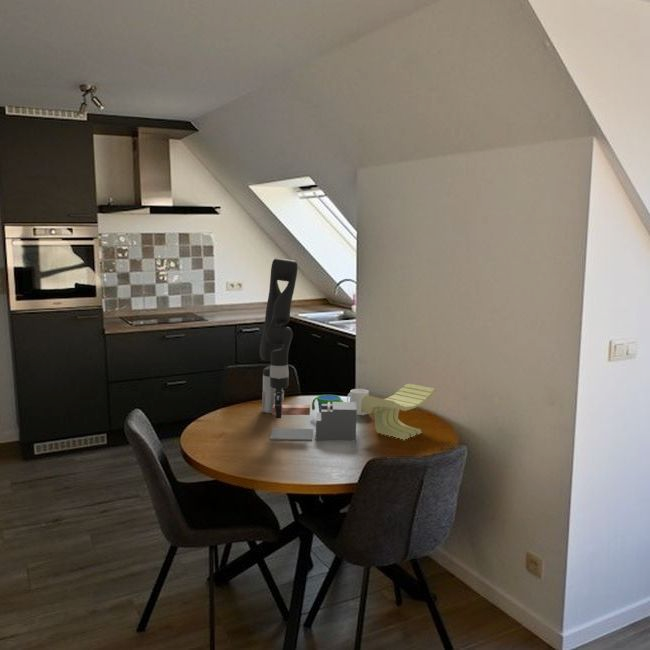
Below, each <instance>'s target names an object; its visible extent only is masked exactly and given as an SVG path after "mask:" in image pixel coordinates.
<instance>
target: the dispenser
mask: <svg viewBox="0 0 650 650" xmlns="http://www.w3.org/2000/svg"><path fill="white" fill-rule="evenodd" d="M356 411H357V410H356V403H355V402H350V401H348V402H347V401H344V402H333V403H332V404H330V402H328V403H327V404H322V410H321V413H319V412H316V417H315V418H316V420H315V441H343V442H344V441H345V442H346V441H348V442H349V441H351V442H354V441H355V442H356V440H357V415H356Z"/></svg>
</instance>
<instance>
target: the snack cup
mask: <svg viewBox="0 0 650 650" xmlns="http://www.w3.org/2000/svg"><path fill="white" fill-rule="evenodd" d="M316 401H317V405H318V413H321V410H322V404H327V403H328V402H330V404H332V403H333V402H345V401H344V400H343V399H342V397H341V396H338V395H336V394H320V395H318V396H317V397H315V398H314V399H313V400H312V402H311V409H312V411H315V409H316V406H315V402H316Z"/></svg>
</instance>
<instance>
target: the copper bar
mask: <svg viewBox="0 0 650 650" xmlns="http://www.w3.org/2000/svg"><path fill="white" fill-rule="evenodd" d="M277 406H280V405H277ZM310 414H311V404H283V405H282V409H281V416H310ZM272 416H276V409H275V405H273V413H272Z"/></svg>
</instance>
